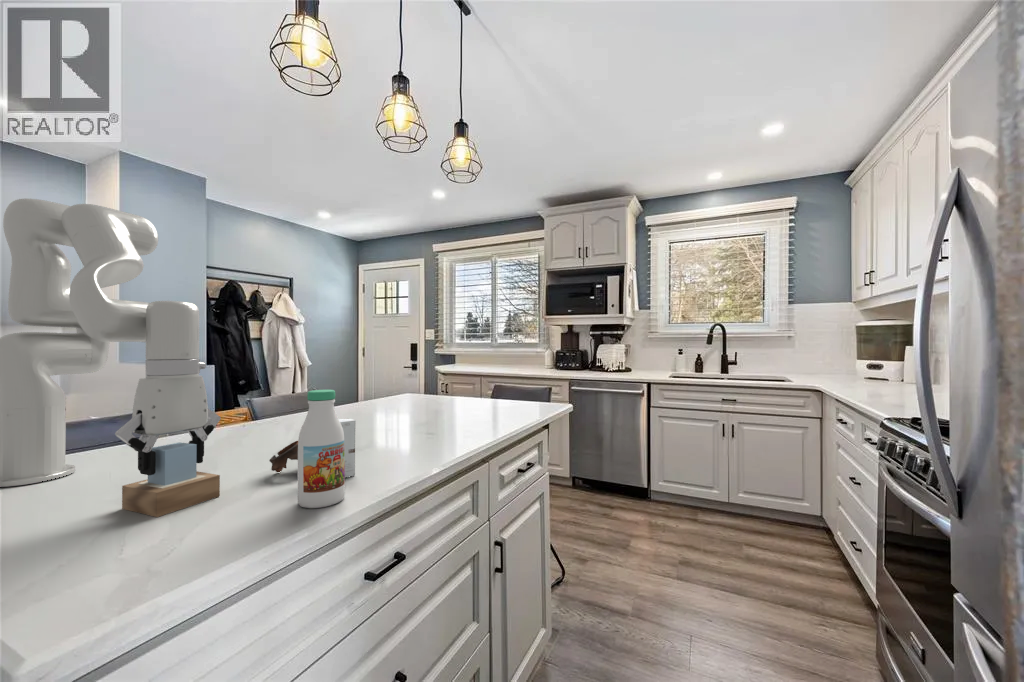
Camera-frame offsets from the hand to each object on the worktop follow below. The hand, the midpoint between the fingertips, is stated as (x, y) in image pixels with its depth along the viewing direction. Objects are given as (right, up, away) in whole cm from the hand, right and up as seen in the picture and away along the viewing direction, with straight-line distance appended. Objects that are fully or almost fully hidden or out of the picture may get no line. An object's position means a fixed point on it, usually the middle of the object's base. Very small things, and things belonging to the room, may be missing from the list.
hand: (172, 467), depth 74 cm
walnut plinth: (0, -6, 0) cm, 6 cm away
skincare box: (+24, -7, +14) cm, 29 cm away
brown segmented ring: (+14, -7, +18) cm, 24 cm away
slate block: (0, -2, 0) cm, 2 cm away
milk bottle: (+27, -6, 0) cm, 28 cm away
